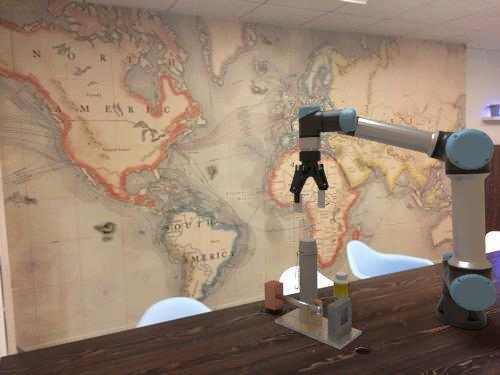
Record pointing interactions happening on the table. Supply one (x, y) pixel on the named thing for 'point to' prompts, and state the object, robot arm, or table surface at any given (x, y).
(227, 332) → the table surface
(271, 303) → the mallet
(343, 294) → the pill bottle
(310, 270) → the water bottle
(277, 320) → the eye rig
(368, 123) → the robot arm
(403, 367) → the table surface
